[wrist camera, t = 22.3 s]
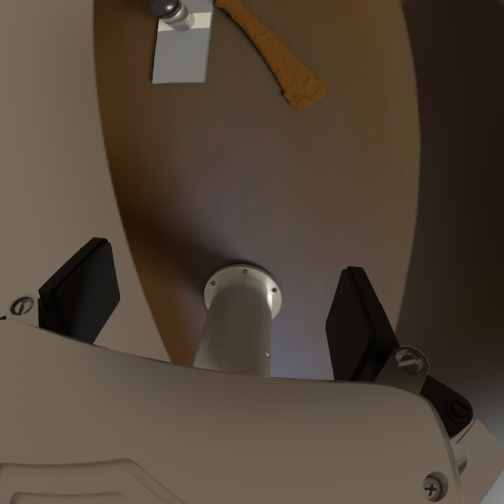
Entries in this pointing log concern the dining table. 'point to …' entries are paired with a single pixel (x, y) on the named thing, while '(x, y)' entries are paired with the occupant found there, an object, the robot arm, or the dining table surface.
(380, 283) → the dining table surface
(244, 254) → the dining table surface
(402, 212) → the dining table surface
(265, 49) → the primitive tool
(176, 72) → the panel
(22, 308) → the robot arm
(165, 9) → the steel peg
